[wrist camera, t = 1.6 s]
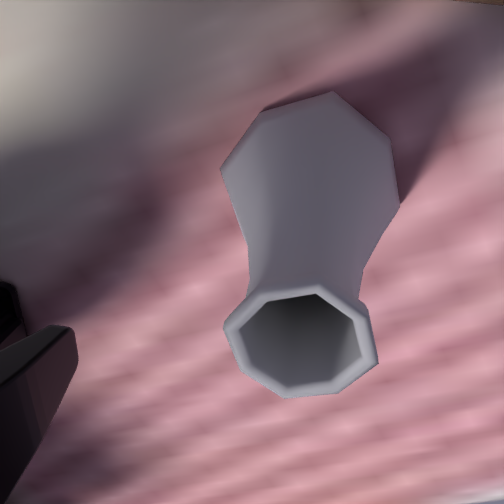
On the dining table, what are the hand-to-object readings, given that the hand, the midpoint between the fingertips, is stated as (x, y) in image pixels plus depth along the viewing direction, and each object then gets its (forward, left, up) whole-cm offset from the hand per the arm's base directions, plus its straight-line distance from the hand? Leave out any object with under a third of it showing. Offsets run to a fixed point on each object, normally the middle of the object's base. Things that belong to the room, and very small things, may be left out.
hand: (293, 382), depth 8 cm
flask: (0, 0, -11) cm, 11 cm away
